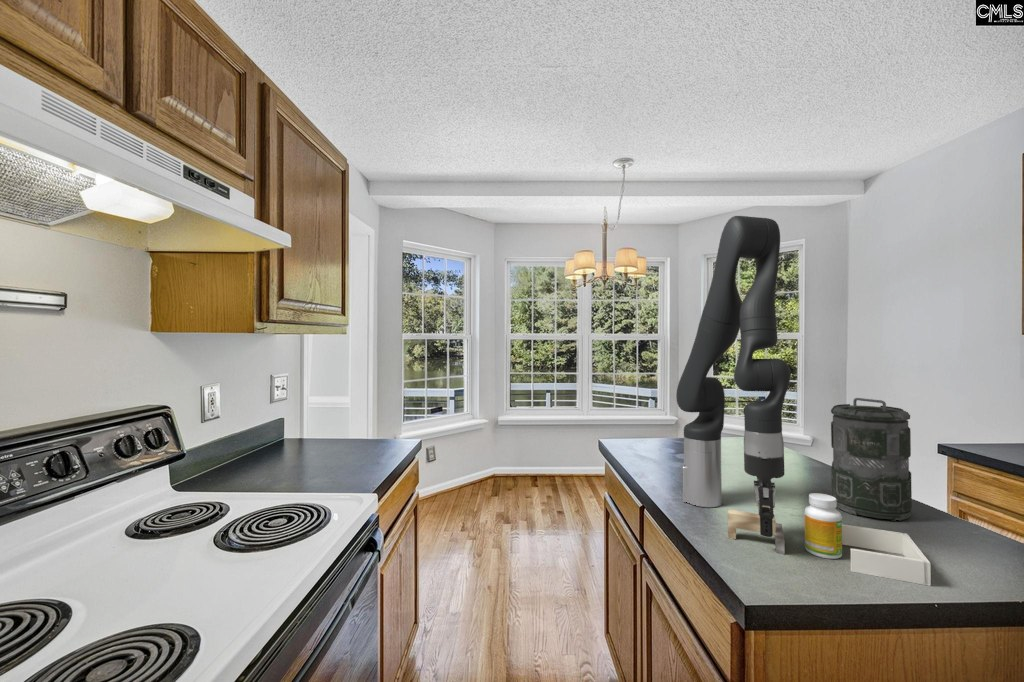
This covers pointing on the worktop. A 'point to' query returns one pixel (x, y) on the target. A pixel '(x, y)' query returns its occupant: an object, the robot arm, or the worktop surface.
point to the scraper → (754, 527)
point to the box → (886, 555)
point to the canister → (871, 460)
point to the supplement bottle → (823, 527)
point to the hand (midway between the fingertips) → (765, 528)
